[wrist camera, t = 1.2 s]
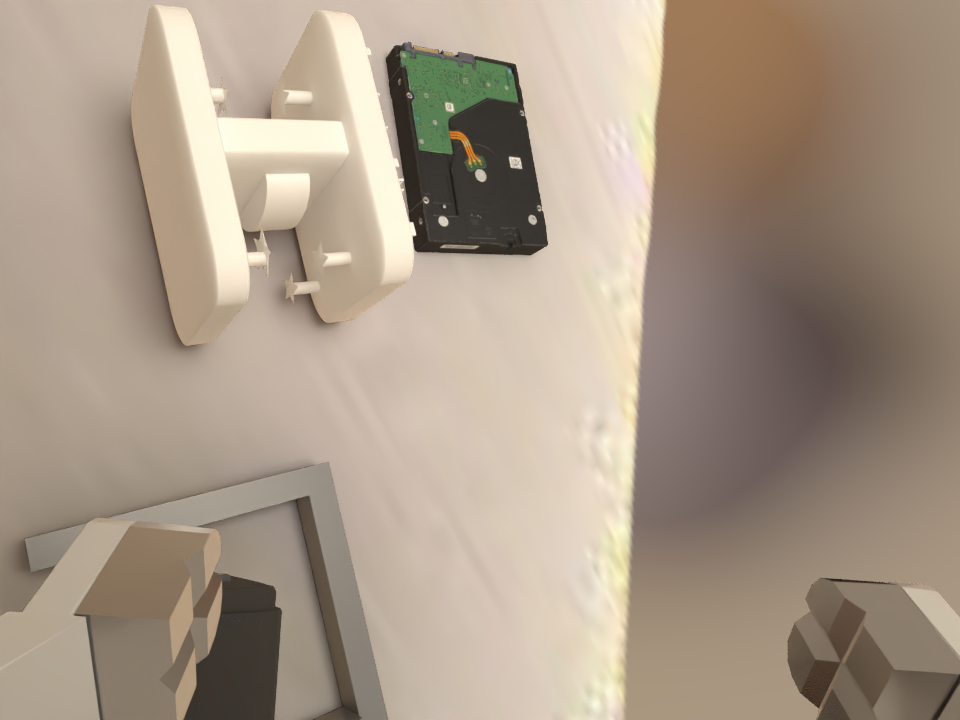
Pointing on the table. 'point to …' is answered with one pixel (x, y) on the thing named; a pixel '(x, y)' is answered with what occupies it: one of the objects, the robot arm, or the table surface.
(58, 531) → the comb rack
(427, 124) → the disk drive
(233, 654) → the card reader
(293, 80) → the cable organizer
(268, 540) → the table surface
